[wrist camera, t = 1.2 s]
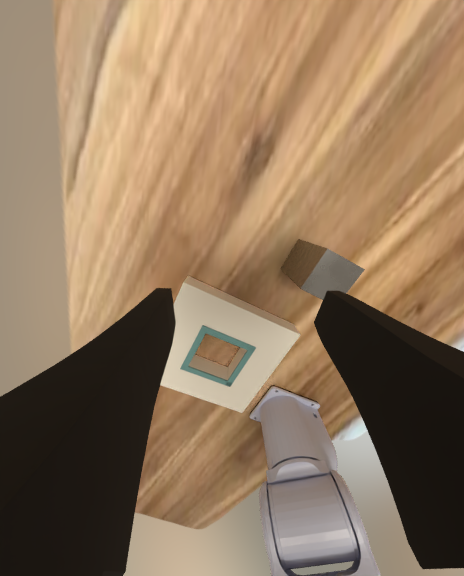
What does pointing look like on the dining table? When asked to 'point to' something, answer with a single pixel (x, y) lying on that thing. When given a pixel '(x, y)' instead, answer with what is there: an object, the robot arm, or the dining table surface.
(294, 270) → the grey peg
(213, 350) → the dining table surface
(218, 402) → the socket board
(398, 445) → the robot arm
